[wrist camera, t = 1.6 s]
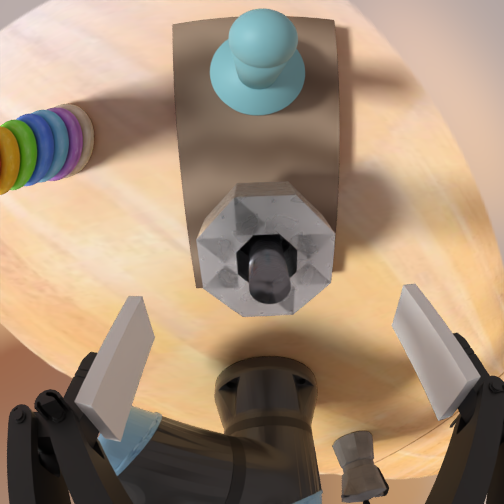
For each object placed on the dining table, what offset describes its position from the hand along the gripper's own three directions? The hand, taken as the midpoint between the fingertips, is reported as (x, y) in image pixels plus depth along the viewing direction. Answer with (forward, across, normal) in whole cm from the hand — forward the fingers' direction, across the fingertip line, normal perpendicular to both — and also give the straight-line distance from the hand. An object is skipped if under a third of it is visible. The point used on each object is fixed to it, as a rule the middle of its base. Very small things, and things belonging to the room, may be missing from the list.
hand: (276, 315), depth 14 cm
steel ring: (+10, 0, 0) cm, 10 cm away
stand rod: (+14, 0, 0) cm, 14 cm away
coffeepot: (+16, -20, +52) cm, 58 cm away
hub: (+14, 0, -13) cm, 19 cm away
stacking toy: (+16, +20, -10) cm, 28 cm away
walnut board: (+16, 0, -6) cm, 17 cm away
